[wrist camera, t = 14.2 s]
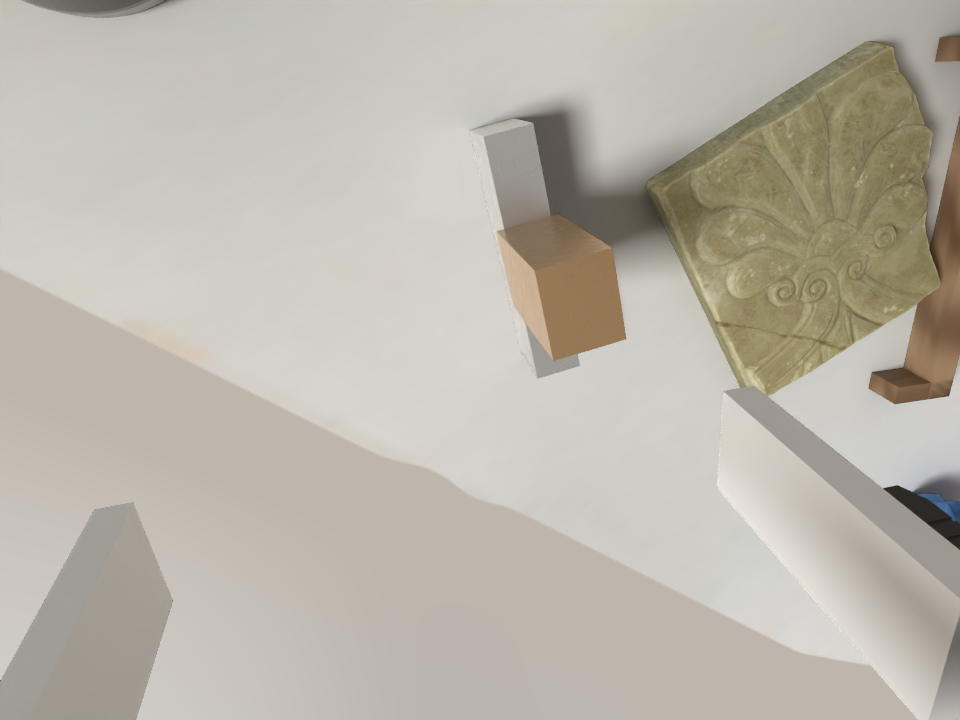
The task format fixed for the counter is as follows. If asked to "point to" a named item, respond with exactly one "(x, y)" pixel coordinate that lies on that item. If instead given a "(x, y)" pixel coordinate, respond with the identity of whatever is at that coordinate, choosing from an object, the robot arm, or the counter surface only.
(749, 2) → the counter surface
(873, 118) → the decorative tile
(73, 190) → the counter surface
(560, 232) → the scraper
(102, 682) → the robot arm
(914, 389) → the brown wooden bar
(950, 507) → the blue knobbed flower
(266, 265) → the counter surface
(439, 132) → the counter surface
